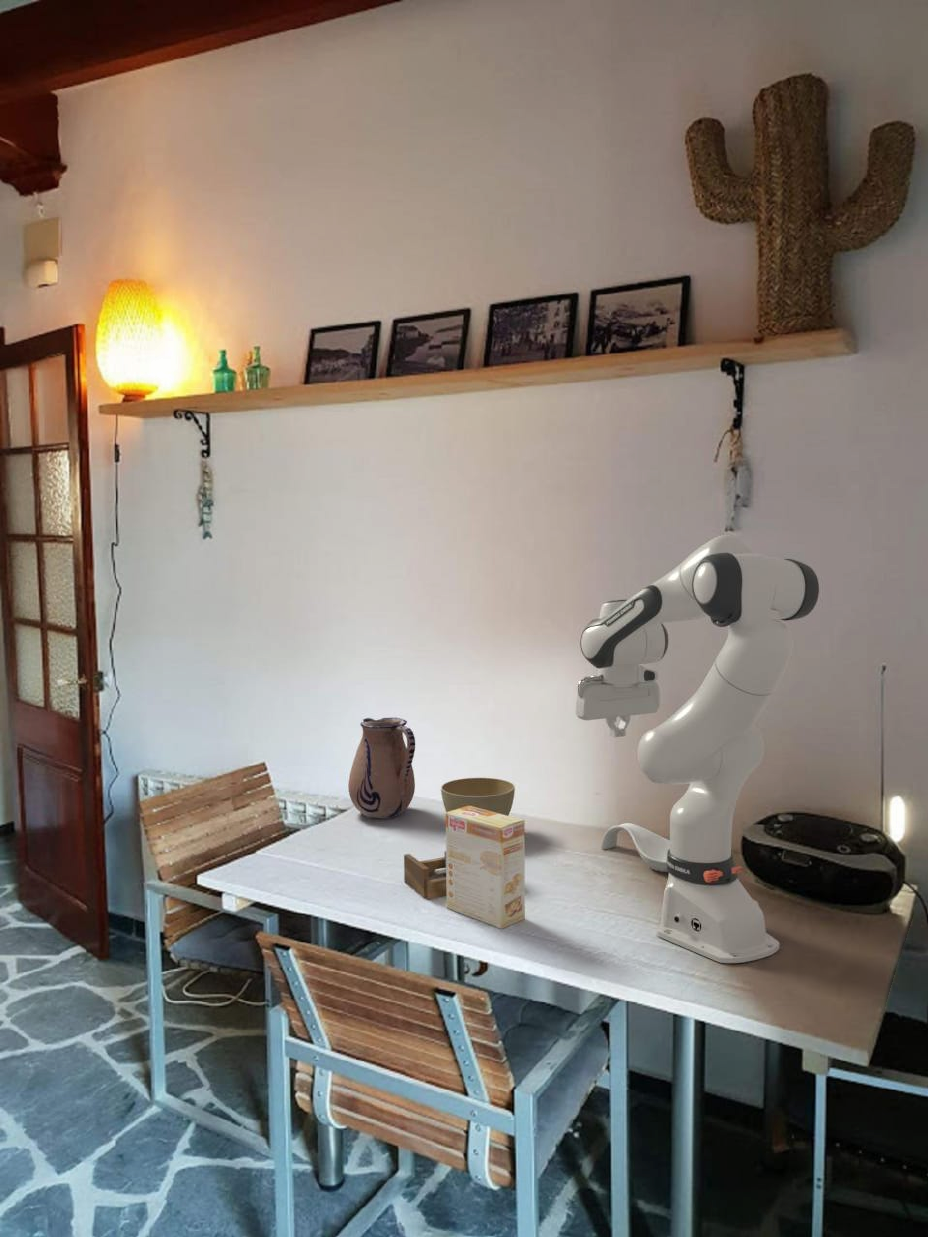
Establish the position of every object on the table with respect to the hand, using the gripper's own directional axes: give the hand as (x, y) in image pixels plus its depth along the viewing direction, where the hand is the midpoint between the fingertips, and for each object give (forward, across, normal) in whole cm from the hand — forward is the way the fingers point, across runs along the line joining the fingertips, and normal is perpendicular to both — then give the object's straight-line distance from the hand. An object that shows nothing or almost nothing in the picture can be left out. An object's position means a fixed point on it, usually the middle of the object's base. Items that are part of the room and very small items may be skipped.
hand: (617, 736), depth 207 cm
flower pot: (+29, -17, +34) cm, 48 cm away
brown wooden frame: (+29, -35, +8) cm, 46 cm away
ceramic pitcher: (+29, -31, +60) cm, 73 cm away
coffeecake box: (+29, -38, -10) cm, 49 cm away
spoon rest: (+30, +8, 0) cm, 31 cm away
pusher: (+29, -38, +8) cm, 48 cm away
